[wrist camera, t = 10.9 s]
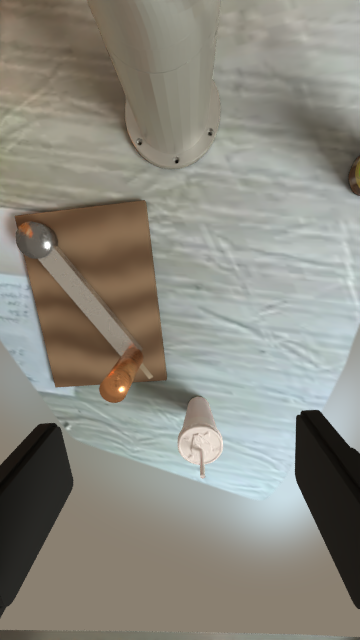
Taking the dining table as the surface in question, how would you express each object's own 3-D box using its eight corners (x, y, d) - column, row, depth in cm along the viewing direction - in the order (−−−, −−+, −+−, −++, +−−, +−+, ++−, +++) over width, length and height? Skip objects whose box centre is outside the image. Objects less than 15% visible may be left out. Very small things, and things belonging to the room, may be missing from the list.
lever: (18, 238, 36) (-61, 228, 25) (41, 216, 35) (-30, 195, 24) (130, 369, 40) (106, 411, 29) (153, 352, 39) (137, 389, 28)
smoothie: (187, 425, 44) (184, 498, 30) (175, 395, 43) (167, 457, 29) (221, 416, 43) (234, 487, 30) (210, 385, 42) (219, 445, 28)
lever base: (20, 217, 37) (14, 215, 36) (146, 202, 35) (144, 200, 34) (59, 383, 43) (55, 387, 42) (167, 376, 42) (166, 380, 41)
